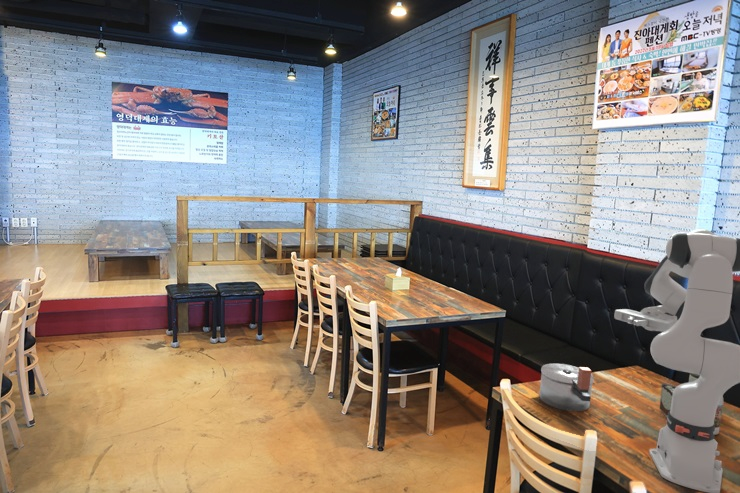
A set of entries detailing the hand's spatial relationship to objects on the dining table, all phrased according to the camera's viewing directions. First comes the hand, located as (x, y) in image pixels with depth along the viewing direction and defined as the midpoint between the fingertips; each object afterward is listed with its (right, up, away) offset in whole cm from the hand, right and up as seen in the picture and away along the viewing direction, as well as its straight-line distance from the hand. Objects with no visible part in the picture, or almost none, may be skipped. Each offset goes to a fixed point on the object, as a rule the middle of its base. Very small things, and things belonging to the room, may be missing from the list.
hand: (632, 322), depth 177 cm
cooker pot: (-21, -32, +7) cm, 39 cm away
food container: (+17, -35, +3) cm, 39 cm away
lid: (-20, -22, +6) cm, 31 cm away
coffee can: (+32, -35, +10) cm, 49 cm away
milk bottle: (+22, -37, -7) cm, 43 cm away
